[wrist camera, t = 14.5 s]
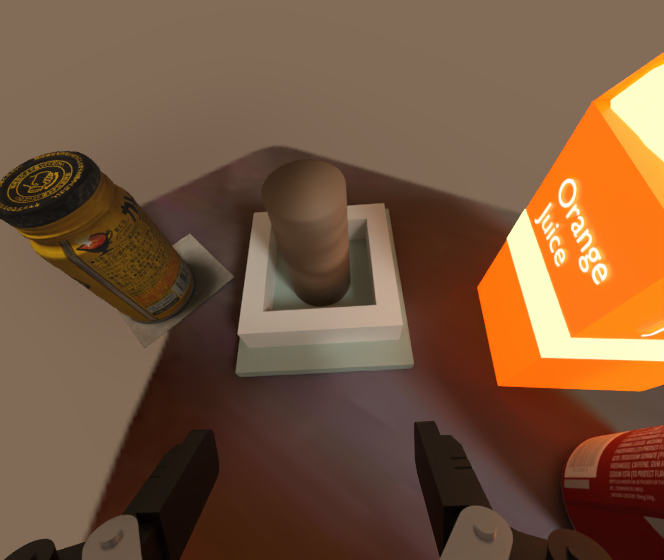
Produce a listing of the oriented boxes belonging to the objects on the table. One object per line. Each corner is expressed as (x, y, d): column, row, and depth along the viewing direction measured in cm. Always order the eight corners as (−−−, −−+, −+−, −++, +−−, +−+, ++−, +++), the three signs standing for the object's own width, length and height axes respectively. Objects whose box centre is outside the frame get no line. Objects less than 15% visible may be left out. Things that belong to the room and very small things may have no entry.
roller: (348, 255, 26) (344, 156, 18) (352, 304, 24) (348, 215, 16) (294, 259, 26) (265, 162, 18) (292, 308, 24) (257, 222, 16)
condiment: (106, 293, 27) (-45, 183, 17) (190, 234, 30) (103, 110, 20) (146, 349, 24) (-9, 257, 14) (235, 279, 27) (161, 159, 17)
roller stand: (387, 216, 29) (390, 186, 26) (412, 368, 22) (420, 351, 19) (258, 225, 30) (247, 197, 27) (239, 376, 23) (221, 361, 20)
